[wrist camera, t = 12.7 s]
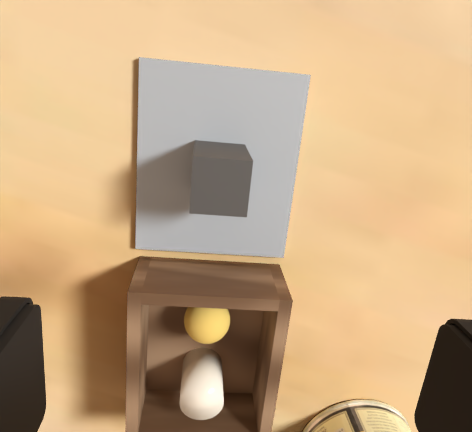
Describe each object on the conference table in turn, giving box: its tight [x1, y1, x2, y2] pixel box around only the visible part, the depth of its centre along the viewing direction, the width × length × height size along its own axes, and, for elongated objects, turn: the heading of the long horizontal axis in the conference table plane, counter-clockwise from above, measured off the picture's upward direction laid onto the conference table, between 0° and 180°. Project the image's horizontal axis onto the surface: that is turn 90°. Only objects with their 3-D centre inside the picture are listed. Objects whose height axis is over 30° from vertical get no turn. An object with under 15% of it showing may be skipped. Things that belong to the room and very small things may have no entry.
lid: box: [135, 57, 311, 258], centre depth 25 cm, size 12×10×6 cm
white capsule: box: [180, 347, 224, 420], centre depth 30 cm, size 3×3×4 cm
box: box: [126, 256, 293, 432], centre depth 30 cm, size 12×10×5 cm
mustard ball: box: [184, 307, 230, 344], centre depth 29 cm, size 3×3×3 cm
